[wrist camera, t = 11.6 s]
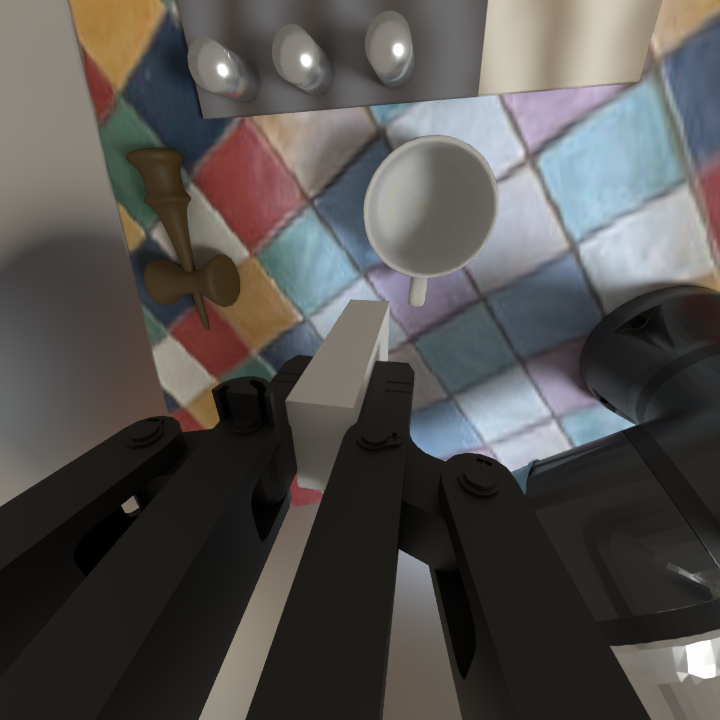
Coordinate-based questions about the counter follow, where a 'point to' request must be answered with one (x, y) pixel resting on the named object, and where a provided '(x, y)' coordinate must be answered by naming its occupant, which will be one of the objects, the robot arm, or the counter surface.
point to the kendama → (180, 238)
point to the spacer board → (430, 47)
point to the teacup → (430, 209)
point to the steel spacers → (303, 60)
